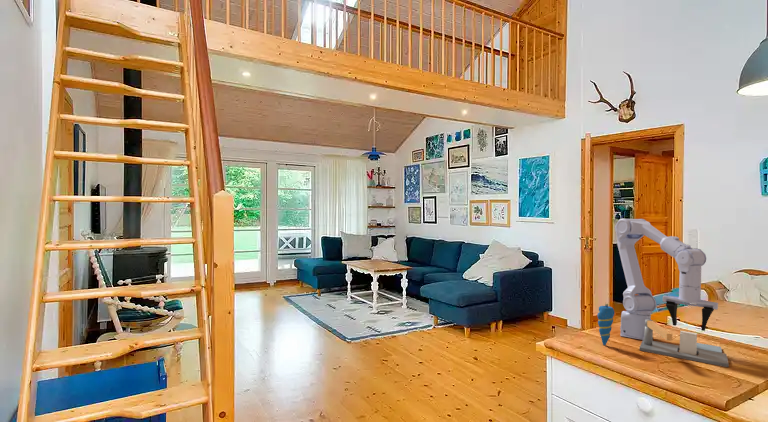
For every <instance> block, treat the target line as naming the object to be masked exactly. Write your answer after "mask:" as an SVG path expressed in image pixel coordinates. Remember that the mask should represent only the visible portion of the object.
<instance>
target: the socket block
mask: <svg viewBox="0 0 768 422" xmlns="http://www.w3.org/2000/svg"><path fill="white" fill-rule="evenodd" d="M653 335H654V331H653V330H652V329H650V328H649V327H647V326H645V332H644V339H643V340H641V343H640V346H639V349H638V350H639V351H641V352H647V353H650V354H651V353H652V354H656V355H661V356H662V355H663V356H667V357H673V358H678V359H683V360H687V361H694V362H699V363H703V364H709V365H714V366H719V367H725V368H729V359H728V355H727V353H725V352H724V353H723V352H722V353H719V352H713V351H707V350H702V349H697V350H696V355H692V354H686V353H681V352H680V344H673V343H668V342H661V341H656V340H655V341H654V340H653Z"/></svg>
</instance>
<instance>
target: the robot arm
mask: <svg viewBox="0 0 768 422" xmlns="http://www.w3.org/2000/svg"><path fill="white" fill-rule="evenodd" d="M614 230H615V233H616V246H617V248H618V251H619V252H618V253H619V257H620V261H621V266H622V269H623V273H624V278H625V282H626V285H627V288H626V289H625V290H624V291H623V293H622V296H623V300H622V305H623V307H624V309H625V310H622V311H621V315H620V328H619V330H620V334H619V336H620V337H623V338H629V339H636V340H639V341H640V340H641V341H643V339H644V332H645V319H649V320H652V319H651V317H652V316H651V315H653V312H654V311H656V308H657V301H656V298H655V297H654V295H653V294H652V291H651V290H650V288H648V287H646V285H645V283H644V279H643V275H642V271H641V267H640V264H639V260H638V255H637V253H636V252H637V251H636V249H635V244H636V243H637V242H639V240H641V239H642V238H643V237H644V236H645V237H647V238H648V239H650V240H652V241H654V242H656V243H657V244H658V245H660V250H661V251H663V252H664V253H666V254H668V255H669V256H671V257H672V258H674V260H675V262H676V264H677V266H678V267H677V269H678V271H679V275H678V276H679V281H678V284H679V285H678V296H672V295H663V296H662V302H663V303H665V307H666V308H667V311H668V312H669V315H670V318H671V322H672V326H677V324H678V321H677V320H678V317H677V316H678V315H677V313H678V304H679V305H685V306H692V307H699V308H702V309H701V316H702V317H701V318H702V319H701V331H703V332H705V330H706V327H707V323H708V321H709V319H710V317H711V316H712V314H713V312H714V311H715V310H718V309H719V302H714V301H708V300H703V299H701V293H702V292H701V291H702V267H703V266H704V265H705V264H706V263H707V256H706V253H705V252H704V251H703V250H702V249H700V248H693V247H692V245H690V244H687V243H684V242H683V241H682V240H680V237H678V236H673V235H670V236H667V235H665V234H664V233H663V232H661V230H659V229H657V228H656V227H655V226H653V225H652V224H651V222H650V221H647V220H646V219H644V218H620V219H618V221H616V224H615V226H614Z"/></svg>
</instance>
